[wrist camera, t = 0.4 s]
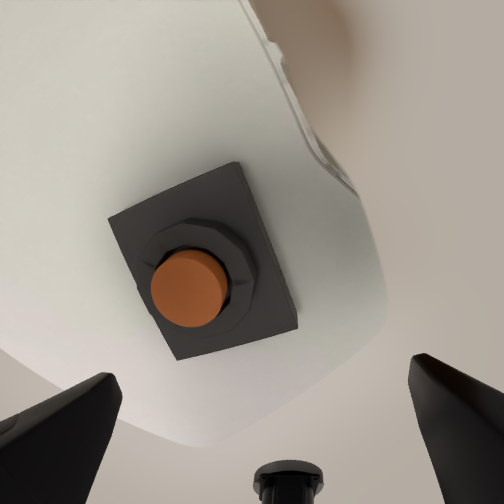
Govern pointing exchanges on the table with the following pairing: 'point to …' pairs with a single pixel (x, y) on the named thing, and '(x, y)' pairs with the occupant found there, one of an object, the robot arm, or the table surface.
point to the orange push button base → (219, 247)
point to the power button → (189, 288)
